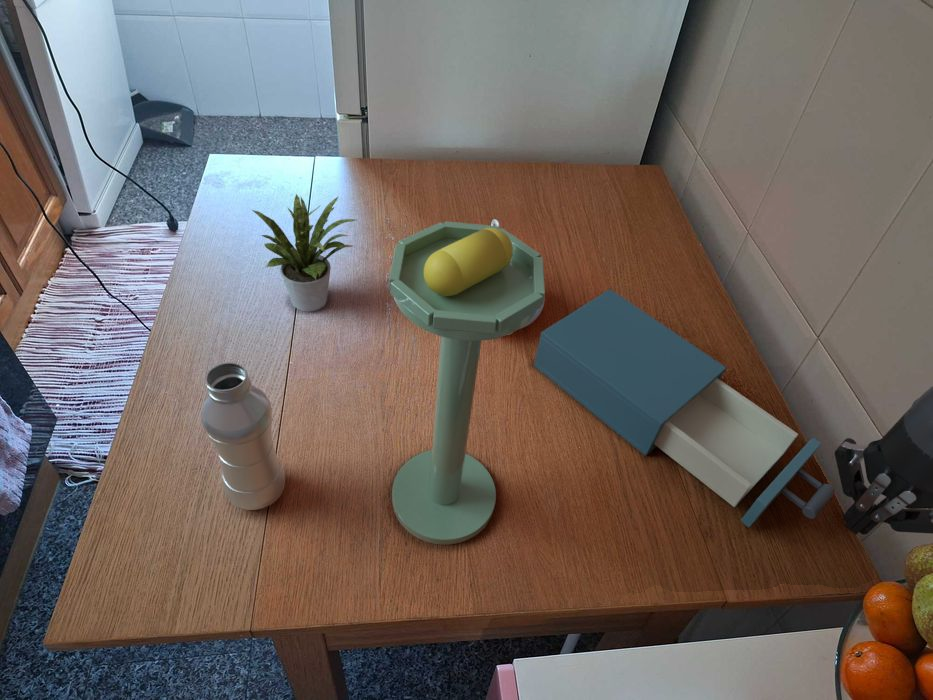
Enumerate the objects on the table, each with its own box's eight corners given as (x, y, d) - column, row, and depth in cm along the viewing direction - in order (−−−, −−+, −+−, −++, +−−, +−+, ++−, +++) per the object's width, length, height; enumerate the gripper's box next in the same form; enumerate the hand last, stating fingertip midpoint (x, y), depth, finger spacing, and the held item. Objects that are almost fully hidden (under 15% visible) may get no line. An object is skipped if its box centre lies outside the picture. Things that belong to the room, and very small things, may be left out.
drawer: (836, 488, 80) (856, 466, 76) (782, 555, 73) (802, 534, 69) (682, 379, 90) (693, 355, 87) (623, 427, 84) (633, 403, 80)
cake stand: (515, 503, 76) (575, 277, 51) (438, 566, 69) (463, 343, 45) (448, 438, 81) (472, 207, 57) (371, 491, 75) (360, 257, 51)
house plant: (382, 312, 96) (381, 221, 84) (298, 350, 90) (284, 256, 78) (332, 262, 103) (325, 171, 92) (251, 293, 97) (232, 199, 85)
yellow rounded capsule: (485, 238, 54) (501, 212, 51) (510, 271, 54) (528, 247, 51) (409, 275, 50) (421, 249, 47) (436, 311, 50) (450, 287, 46)
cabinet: (708, 400, 89) (726, 367, 85) (645, 456, 82) (661, 423, 77) (599, 322, 99) (609, 288, 94) (533, 365, 91) (541, 331, 86)
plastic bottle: (228, 471, 75) (190, 354, 61) (288, 465, 77) (265, 348, 62) (225, 521, 71) (182, 407, 57) (288, 513, 72) (263, 400, 58)
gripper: (863, 409, 61) (783, 504, 74) (1012, 506, 55) (897, 591, 67) (894, 373, 65) (813, 469, 77) (1037, 459, 59) (924, 548, 71)
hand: (852, 526), depth 72 cm, fingers closed
